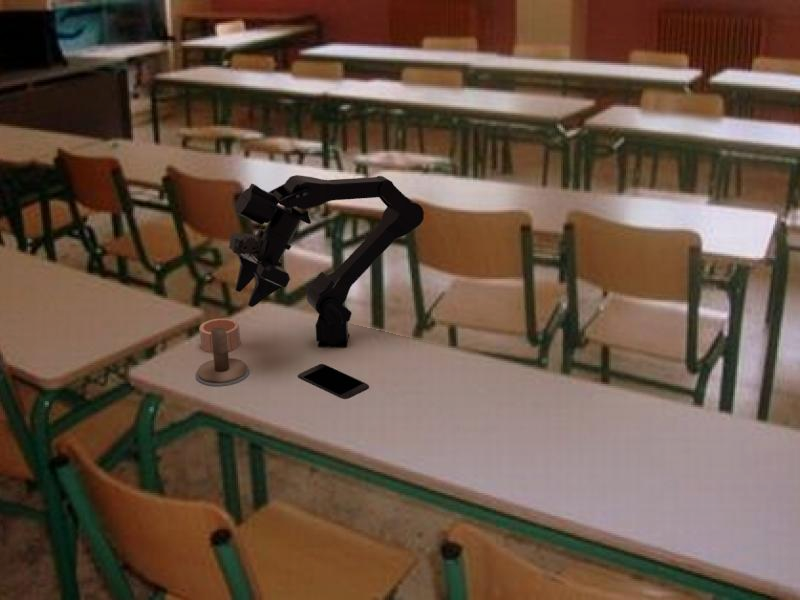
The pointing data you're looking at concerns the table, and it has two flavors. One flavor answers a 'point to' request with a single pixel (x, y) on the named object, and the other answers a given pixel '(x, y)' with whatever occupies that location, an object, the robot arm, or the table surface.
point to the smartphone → (333, 381)
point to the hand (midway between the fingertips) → (243, 298)
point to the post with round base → (221, 362)
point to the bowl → (228, 324)
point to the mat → (223, 383)
